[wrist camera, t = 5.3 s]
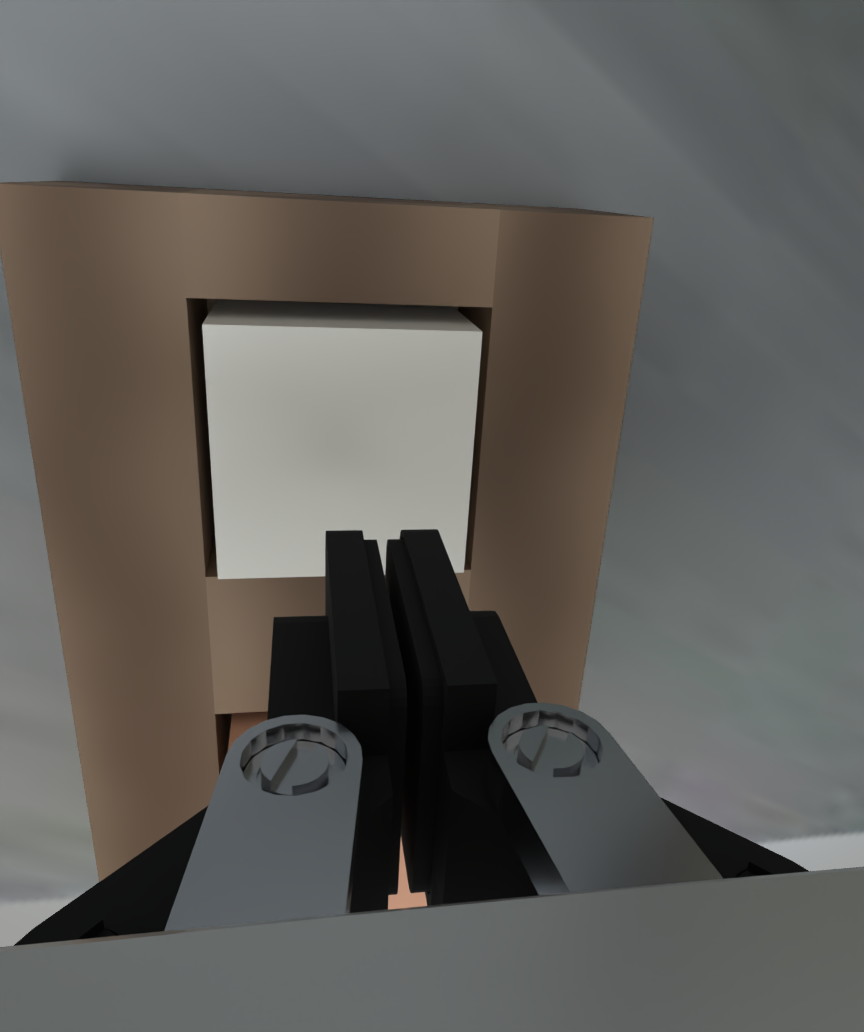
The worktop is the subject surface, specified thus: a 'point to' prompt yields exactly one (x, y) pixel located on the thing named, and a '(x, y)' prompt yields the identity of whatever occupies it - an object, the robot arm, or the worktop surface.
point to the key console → (186, 450)
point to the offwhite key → (336, 428)
